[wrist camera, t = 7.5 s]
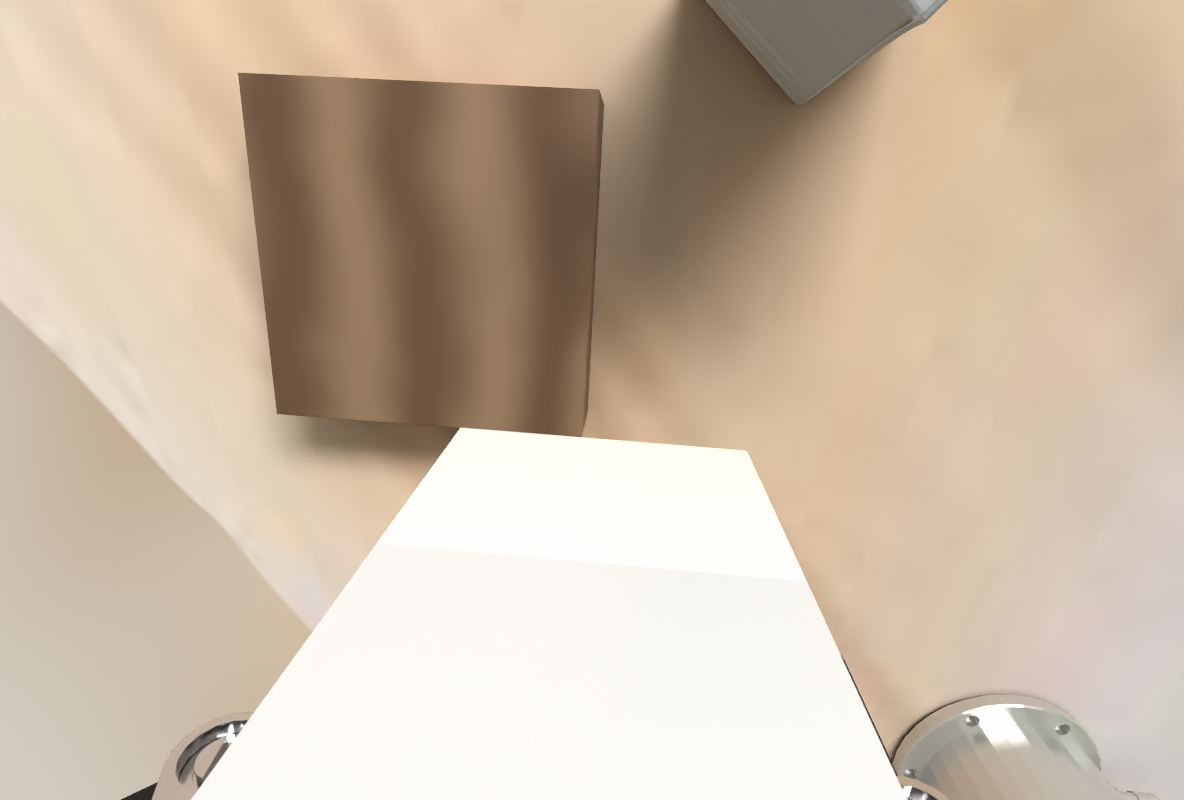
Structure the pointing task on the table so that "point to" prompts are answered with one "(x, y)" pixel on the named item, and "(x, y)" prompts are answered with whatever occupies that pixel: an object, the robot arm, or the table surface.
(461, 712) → the white rectangular block
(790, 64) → the skincare box
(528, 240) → the walnut stand
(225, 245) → the table surface
